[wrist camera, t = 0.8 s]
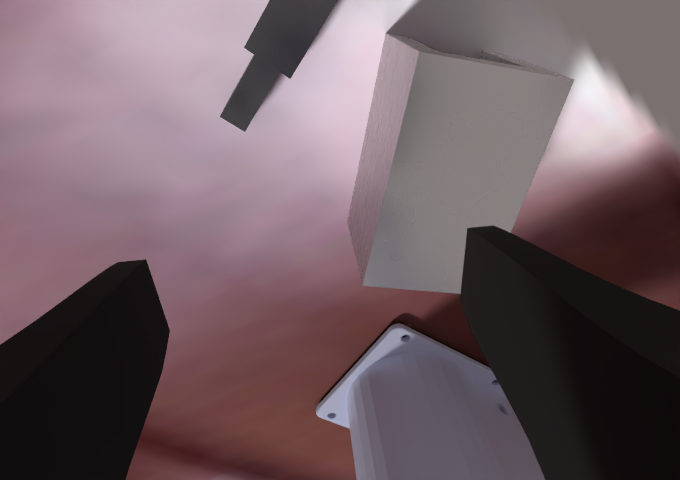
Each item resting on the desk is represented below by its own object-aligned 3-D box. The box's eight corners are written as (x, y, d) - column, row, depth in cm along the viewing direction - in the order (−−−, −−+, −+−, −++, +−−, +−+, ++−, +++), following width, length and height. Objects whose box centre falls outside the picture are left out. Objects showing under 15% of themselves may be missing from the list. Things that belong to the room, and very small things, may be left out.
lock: (445, 231, 21) (484, 295, 17) (347, 221, 20) (362, 285, 16) (503, 54, 17) (573, 79, 13) (385, 32, 16) (419, 51, 12)
